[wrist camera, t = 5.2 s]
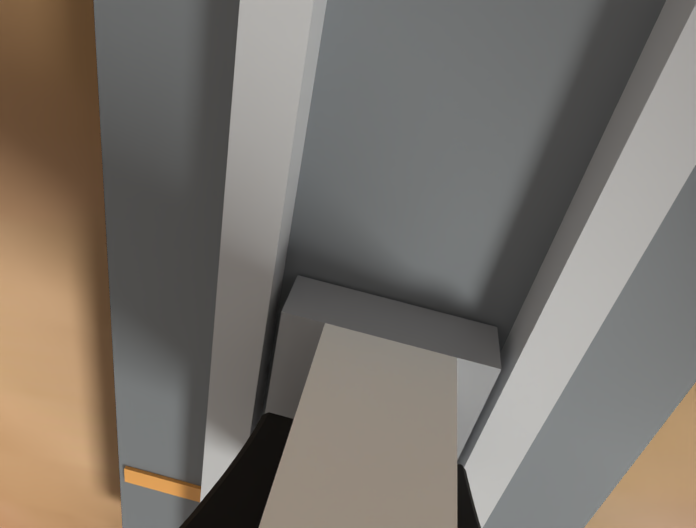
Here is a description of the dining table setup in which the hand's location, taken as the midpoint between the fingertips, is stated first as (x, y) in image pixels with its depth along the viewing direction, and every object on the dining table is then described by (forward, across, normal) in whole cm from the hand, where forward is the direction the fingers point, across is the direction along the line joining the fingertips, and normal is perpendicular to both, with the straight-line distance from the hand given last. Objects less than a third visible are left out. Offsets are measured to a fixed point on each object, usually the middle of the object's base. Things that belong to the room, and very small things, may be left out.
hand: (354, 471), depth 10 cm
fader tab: (+2, 0, 0) cm, 2 cm away
